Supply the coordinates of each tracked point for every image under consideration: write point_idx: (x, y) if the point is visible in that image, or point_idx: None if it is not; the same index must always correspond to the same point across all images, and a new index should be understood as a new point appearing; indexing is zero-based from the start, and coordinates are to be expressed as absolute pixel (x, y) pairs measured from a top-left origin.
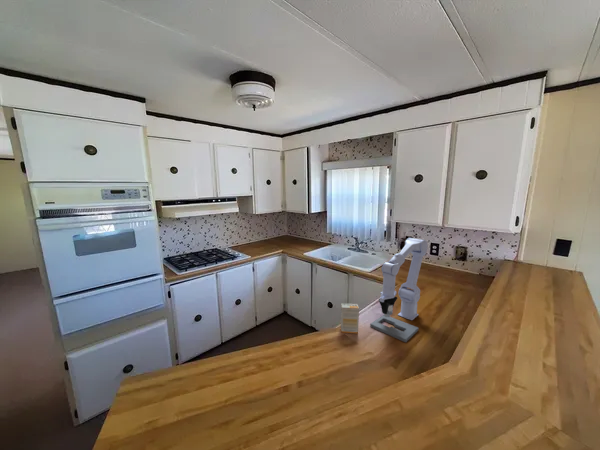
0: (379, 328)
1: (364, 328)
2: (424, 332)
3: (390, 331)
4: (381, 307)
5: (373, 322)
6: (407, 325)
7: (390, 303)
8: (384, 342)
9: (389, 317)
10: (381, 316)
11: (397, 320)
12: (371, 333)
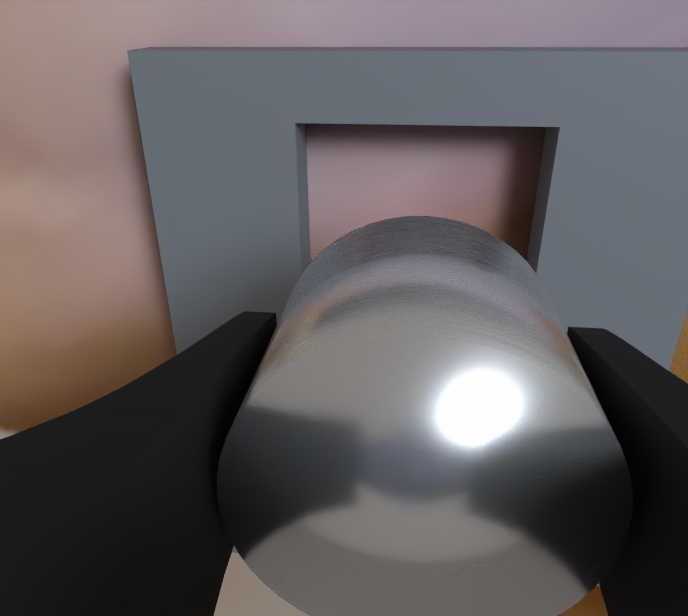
0: (162, 235)
1: (13, 6)
2: (594, 598)
3: None
4: (146, 378)
5: (219, 69)
6: None
7: (606, 556)
8: (15, 378)
9: (670, 201)
10: (603, 54)
11: (639, 346)
12: (12, 175)
